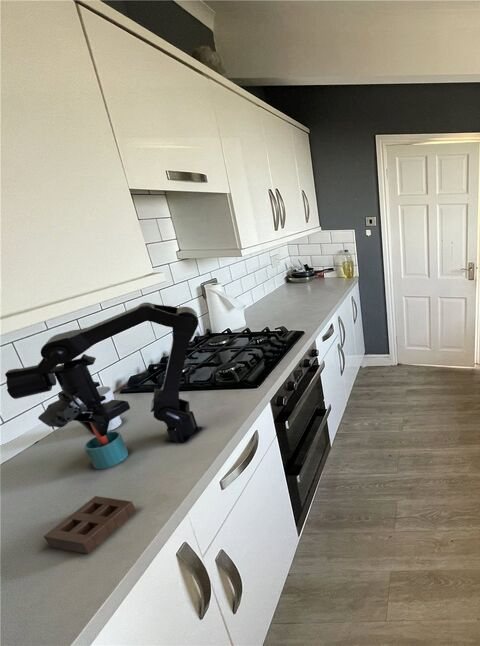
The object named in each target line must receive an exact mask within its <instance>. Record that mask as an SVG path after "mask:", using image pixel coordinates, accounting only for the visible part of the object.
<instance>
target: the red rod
mask: <svg viewBox="0 0 480 646" xmlns="http://www.w3.org/2000/svg"><path fill="white" fill-rule="evenodd" d="M90 425H91V427H92V429H93V431H94V433H95V435H94V437H96V438H97V440H98V442H99V444H100V446H101V447H102V446H104V445H107V444H109V441H108V439H107V437H106V435H105V436H101V435H100V434H99V433H98V432H97V430H96V429H95V427H94V426H93V424H92V423H91V422H90Z"/></svg>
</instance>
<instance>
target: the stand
mask: <svg viewBox="0 0 480 646" xmlns="http://www.w3.org/2000/svg"><path fill="white" fill-rule="evenodd" d="M136 512H137V510H136V508H135V505H134V504H133V501H131V500H124V499H118V498H111V497H105V496H99V495H95V496H93V497H92V498H90V500H88V501H87V502H86V503H84V504H83V505H82V506H81V507H79V508H78V509H77V510H76V511H74V512H72V514H70V515H68V517H67V518H65V519H63V520H62V521H61V522H60V523H58V524H57V525H55V526H54V527H53V528H52V529H51V530H49V531H48V532H47V533H44V535H43V538H44V540H45V542H46V543H47V545H48V546H49V547H50V548H56V549H61V550H66V551H71V552H75V553H80V554H81V553H82V554H87V555H89V554H90V553H92V552H93V551H94V550H95V549H97V547H99V545H101V543H103V542H104V541H105V540H106V539H108V537H109V536H111V534H113V533H114V532H115V531H116V530H117V529H118V528H119V527H121V526H122V524H124V523H125V522H126V521H127V520H129V518H130V517H132V516H133V515H134V514H135V513H136Z"/></svg>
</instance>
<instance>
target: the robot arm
mask: <svg viewBox="0 0 480 646" xmlns="http://www.w3.org/2000/svg"><path fill="white" fill-rule="evenodd" d="M145 322H150V323H154V324H158V325H160V326H164V327H167V328H172V342H171V345H170V351H169V356H168V360H167V365H166V370H165V375H164V379H163V383H162V386H161V387H160V389H159V388H154V391H153V398H152V400H151V403H150V404H151V405H150V413H153V417H154V419H155V420H157V421H160V422H163V423H164V424H165V425H166V433H167V435H168V437H167V438H166V440H167V442H168V441H169V442H176V443H177V442H178V443H187V442H188V441H190V440H191V439H192V438H194V437H195V436H196V435H197V434H198V433H200V432H201V431H202V430H203V427H202V426H198V424H197V420H196V418H195V414H194V412H193V411H192V410H191V409H190V401H187V400H186V399H182V398H180V386H181V382H182V376H183V371H184V368H185V363H186V358H187V354H188V350H189V349H188V348H189V344H190V342H191V340H192V339H193V338H194V335H195V334H196V331H197V328H198V326H199V317H198V313H197V312H196V311H195V309H193V308H192V307H190V306H180V307H176V306H172V305H164V304H156V303H152V302H141V303H139V305H137V306H135V307H132V308H130V309H127V310H125V311H123V312H121V313H119V314H116V315H113V316H112V317H108V318H106V319H104V320H101V321H100V322H97V323H94V324H93V325H90V326H87V327H83V328H78V329H72V330H69V331H65V332H61V333H57V334H55V335H53V336H51V337H50V338H49V339H48V340H47V341H46V342H45V343H44V345H43V346H42V347H41V350H40V356H41V358H42V359H41V360H40V362H39V363H38V364H35V365H32V366H27V367H21V368H12V369H8V370H7V371H6V372H5V373H4V375H5V377H6V388H7V389H6V391H7V393H8V395H9V396H10V397H11V398H12V399H14V400H19V399H23V398H26V397H30V396H35V395H39V394H43V393H48V392H51V391H52V389H53V387H54V386H56V385H57V383H58V385H59V387H60V389H61V391H59V392H57V397H58V400H56V401H54V402H52V403H50V404H48V405H47V407H46V409H45V411H43V412H42V413H41V414H40V415H39V416H38V417H37V419H38V420H39V421H40V422H42V423H44V425H46V426H48V427H50V428H52V427H54V428H58V429H61V428H63V427H65V426H67V425H68V424H69V423H70V422H73V421H75V422H78V423H79V424H81V425H82V426H83V427H84V428H86V430H87V431H89V432H90V433H91V434H92V435H93V436H95V433H94V431H93V429H92V427H91V425H90V422H91V423H92V424H93V426H94V427H95V429H96V430H97V432H98V433H99V434H100V435H101V436H105V435H106V434H107V432H108V431H107V430H108V426H109V422H110V421H111V420H112V419H114V418H116V417H117V416H119V417H120V415H122V414H124V413H126V412H127V411H129V410H130V409H131V406H130V403H129V401H127V400H121V399H114V400H111V401H109V402H104V403H101V402H102V401H104V400H105V399H106V397H105V396H101V395H99V392H98V390H97V387H101V384H100V382H99V381H94V378H93V377H92V374H91V373H90V370H89V367H88V366H93V365H94V364H95V362H96V360H97V358H96V357H95V356H91V355H87V354H85V352H86V351H88V350H89V349H90V348H92V347H93V346H95V345H96V344H97V343H100V342H102V341H105V340H106V339H109V338H112V337H113V336H115V335H118V334H120V333H122V332H125V331H127V330H129V329H132V328H134V327H136V326H138V325H140V324H142V323H145ZM79 356H81V357H80V358H79ZM77 357H78V358H77Z"/></svg>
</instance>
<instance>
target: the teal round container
mask: <svg viewBox="0 0 480 646" xmlns="http://www.w3.org/2000/svg"><path fill="white" fill-rule="evenodd" d="M106 437H107V439H108V441H109V444H107V445H104V446H102V447H101V446H100V444H99V442H98V440H97V438H96V436H94V437H91V439H89V440H88V441H86V442H85V444H84V447H83V448H84V451H85V452H86V455H87V456H88V458H89V459H90V463H91V464H92V466H93V468H94V469H95V470H104V469H108V468H111V467H114V466H116V465H118V464H119V463H121V462H122V461H124V460H125V459H126V458H127V457H128V455H129V451H128V448H127V446H126V442H125V441H124V439H123V436H122V434H121V432H120V431H117V430H110V431H107V434H106Z"/></svg>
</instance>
